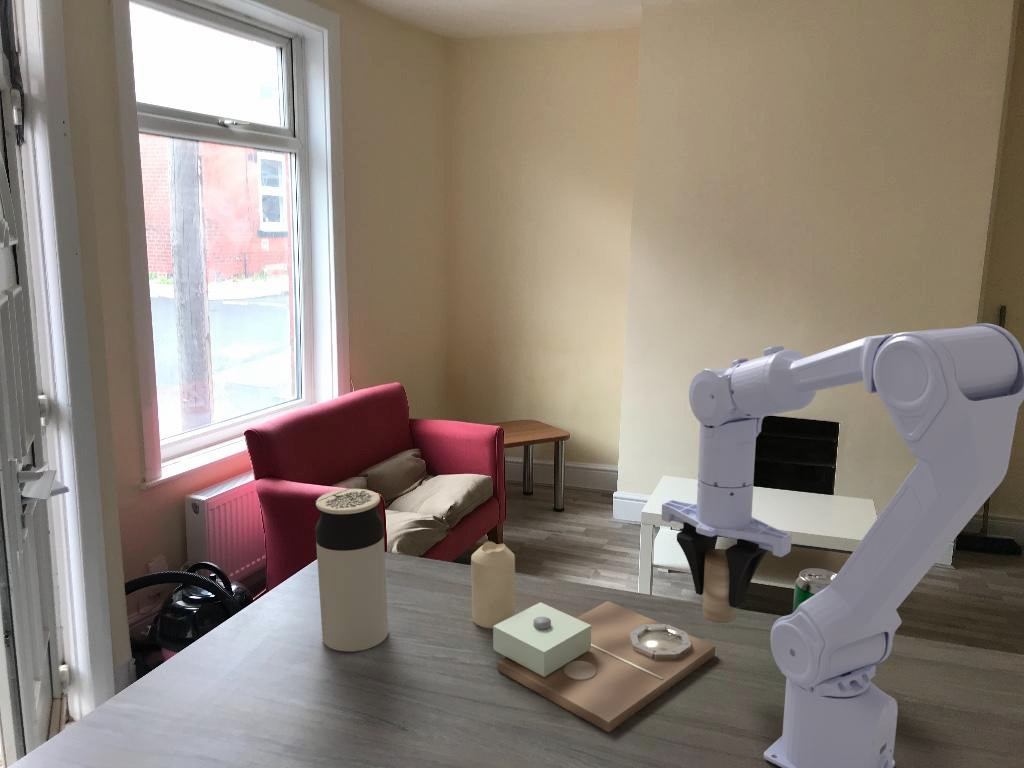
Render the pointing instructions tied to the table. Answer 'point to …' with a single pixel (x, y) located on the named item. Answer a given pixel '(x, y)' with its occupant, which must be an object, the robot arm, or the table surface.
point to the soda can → (811, 584)
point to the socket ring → (660, 641)
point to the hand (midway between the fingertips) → (719, 597)
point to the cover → (542, 638)
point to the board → (610, 670)
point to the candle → (492, 584)
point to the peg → (717, 588)
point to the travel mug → (351, 570)
